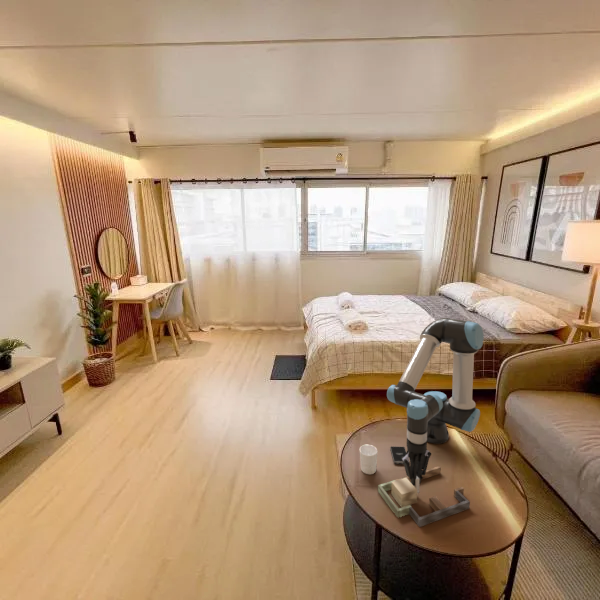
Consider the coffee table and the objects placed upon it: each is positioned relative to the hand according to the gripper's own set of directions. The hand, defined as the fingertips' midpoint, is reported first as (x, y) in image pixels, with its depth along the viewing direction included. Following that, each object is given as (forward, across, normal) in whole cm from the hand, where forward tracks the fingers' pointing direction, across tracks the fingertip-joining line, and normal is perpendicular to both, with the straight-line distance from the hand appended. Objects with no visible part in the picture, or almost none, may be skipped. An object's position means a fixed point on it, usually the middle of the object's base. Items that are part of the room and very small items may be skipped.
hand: (415, 490), depth 133 cm
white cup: (+2, +10, -20) cm, 23 cm away
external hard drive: (+3, -8, -22) cm, 24 cm away
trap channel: (+2, -2, +3) cm, 4 cm away
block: (+2, +6, 0) cm, 6 cm away
